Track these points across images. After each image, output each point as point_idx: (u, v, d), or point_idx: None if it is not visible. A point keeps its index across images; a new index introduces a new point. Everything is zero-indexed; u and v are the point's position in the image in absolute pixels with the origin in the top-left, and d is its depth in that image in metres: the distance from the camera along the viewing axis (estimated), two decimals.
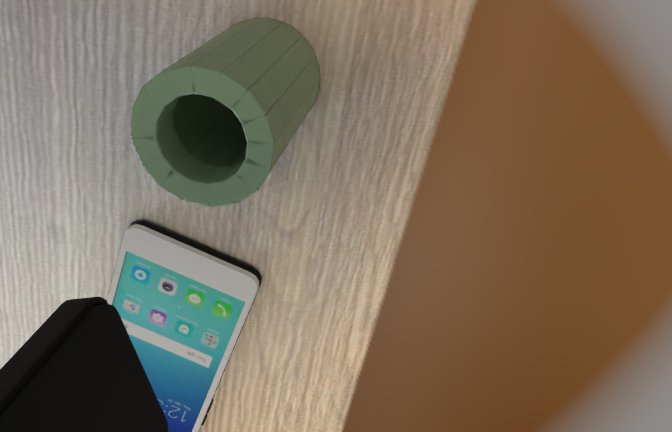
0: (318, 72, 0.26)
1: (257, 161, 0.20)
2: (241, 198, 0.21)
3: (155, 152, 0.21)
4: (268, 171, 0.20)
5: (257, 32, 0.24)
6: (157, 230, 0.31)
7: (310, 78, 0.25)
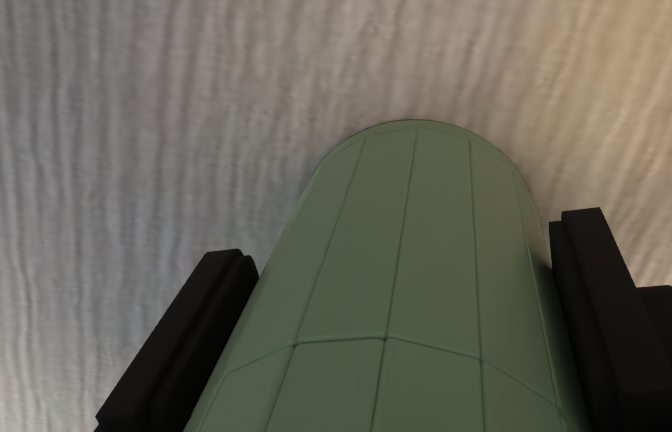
0: None
1: None
2: None
3: None
4: None
5: (447, 181, 0.09)
6: None
7: None
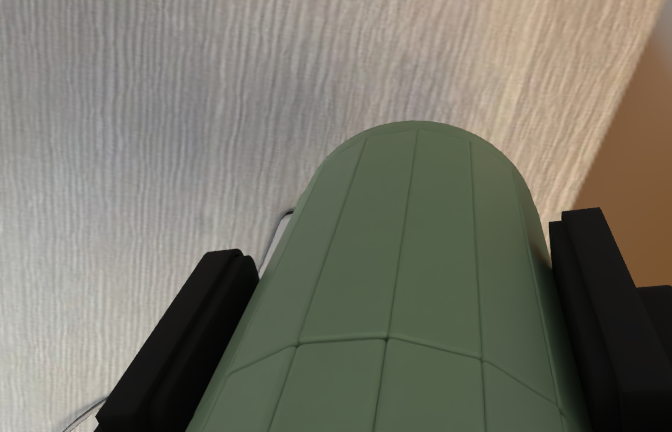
0: None
1: None
2: None
3: None
4: None
5: (448, 182, 0.09)
6: None
7: None
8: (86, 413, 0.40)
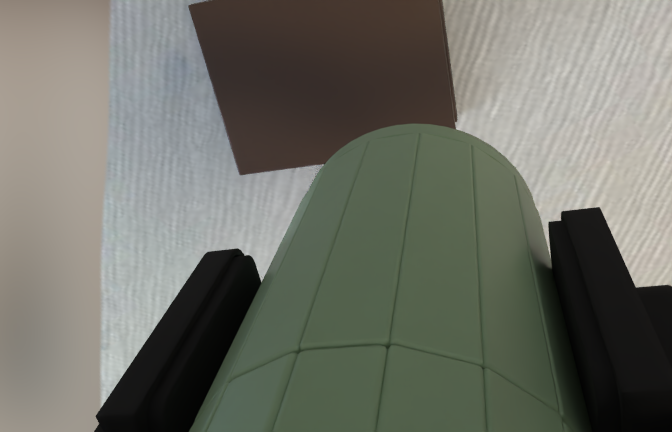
0: None
1: None
2: None
3: None
4: None
5: (449, 186, 0.09)
6: None
7: None
8: None
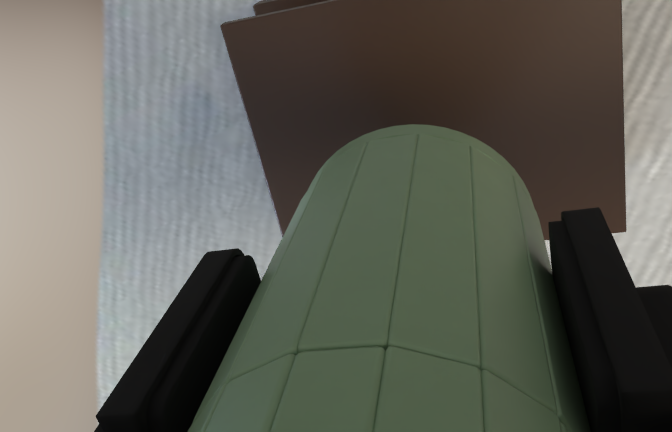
0: None
1: None
2: None
3: None
4: None
5: (448, 187, 0.09)
6: None
7: None
8: None
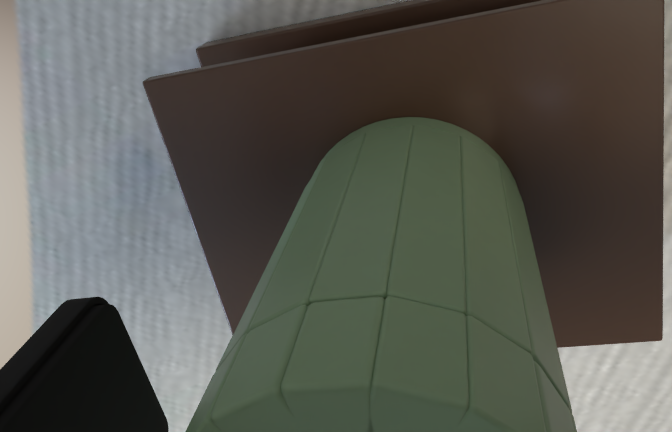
0: None
1: None
2: None
3: None
4: None
5: (439, 170, 0.10)
6: None
7: None
8: None
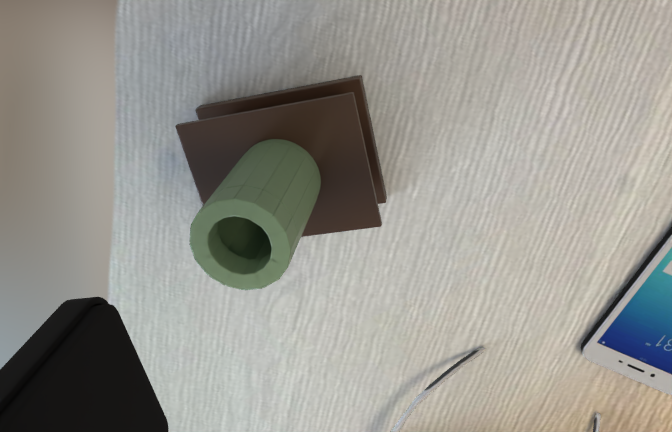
0: (319, 178, 0.35)
1: (279, 260, 0.29)
2: (267, 284, 0.30)
3: (206, 253, 0.29)
4: (286, 267, 0.29)
5: (275, 157, 0.32)
6: None
7: (314, 186, 0.34)
8: (457, 366, 0.43)
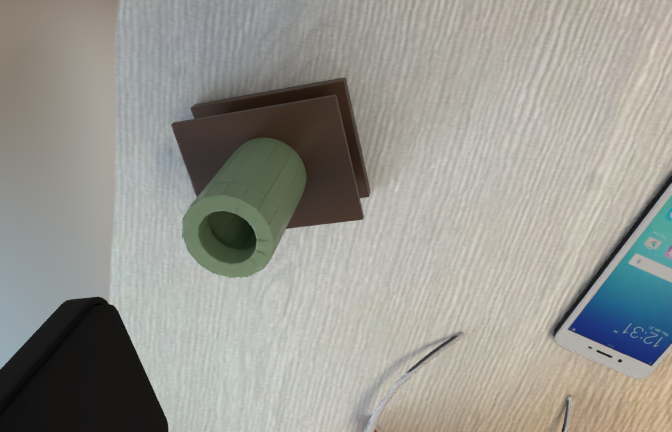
0: (305, 174, 0.38)
1: (263, 251, 0.31)
2: (253, 273, 0.32)
3: (197, 244, 0.32)
4: (270, 257, 0.32)
5: (262, 155, 0.35)
6: None
7: (299, 182, 0.36)
8: (437, 350, 0.46)
